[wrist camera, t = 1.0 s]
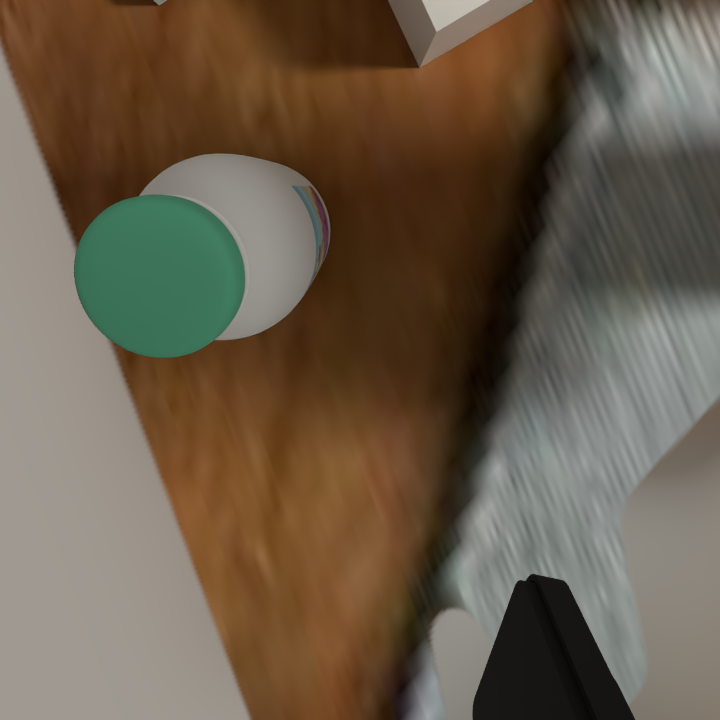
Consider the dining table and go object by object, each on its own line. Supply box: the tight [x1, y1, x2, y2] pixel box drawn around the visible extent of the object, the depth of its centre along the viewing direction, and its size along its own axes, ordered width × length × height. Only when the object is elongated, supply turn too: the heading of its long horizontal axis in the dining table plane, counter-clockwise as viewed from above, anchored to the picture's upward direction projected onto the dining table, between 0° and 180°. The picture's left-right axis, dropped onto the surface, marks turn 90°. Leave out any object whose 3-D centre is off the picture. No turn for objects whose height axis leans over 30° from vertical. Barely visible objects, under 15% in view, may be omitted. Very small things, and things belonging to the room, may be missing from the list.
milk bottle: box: [74, 154, 330, 358], centre depth 26 cm, size 8×8×20 cm
